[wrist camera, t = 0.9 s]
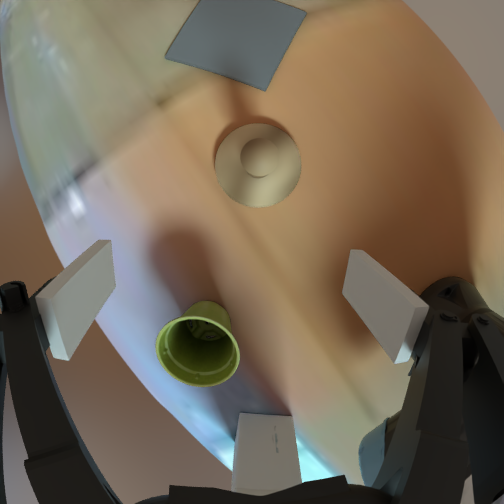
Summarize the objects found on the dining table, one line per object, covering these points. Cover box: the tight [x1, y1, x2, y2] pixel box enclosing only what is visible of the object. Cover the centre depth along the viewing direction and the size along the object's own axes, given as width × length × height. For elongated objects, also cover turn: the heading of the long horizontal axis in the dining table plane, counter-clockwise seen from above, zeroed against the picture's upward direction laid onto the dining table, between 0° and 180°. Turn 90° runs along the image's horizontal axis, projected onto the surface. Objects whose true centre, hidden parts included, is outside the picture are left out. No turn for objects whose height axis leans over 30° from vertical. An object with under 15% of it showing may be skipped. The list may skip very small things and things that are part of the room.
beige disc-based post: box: [215, 123, 301, 207], centre depth 29 cm, size 10×10×11 cm
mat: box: [165, 0, 307, 91], centre depth 29 cm, size 14×14×1 cm
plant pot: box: [156, 301, 240, 387], centre depth 34 cm, size 9×9×9 cm
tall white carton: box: [231, 413, 302, 496], centre depth 31 cm, size 9×9×25 cm
